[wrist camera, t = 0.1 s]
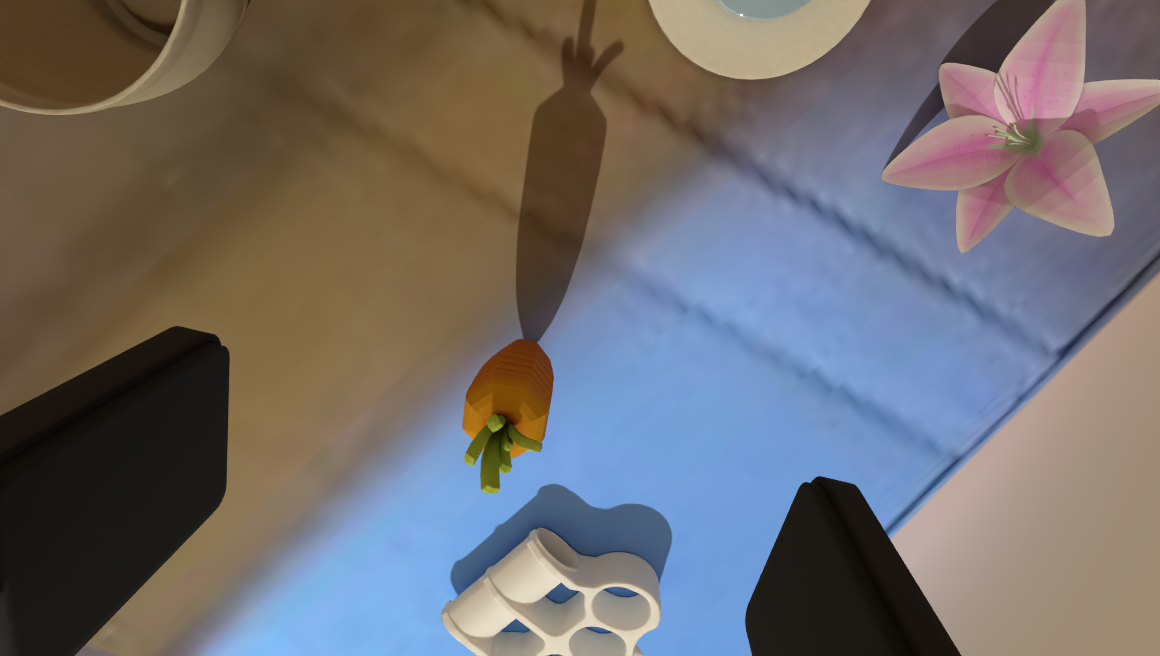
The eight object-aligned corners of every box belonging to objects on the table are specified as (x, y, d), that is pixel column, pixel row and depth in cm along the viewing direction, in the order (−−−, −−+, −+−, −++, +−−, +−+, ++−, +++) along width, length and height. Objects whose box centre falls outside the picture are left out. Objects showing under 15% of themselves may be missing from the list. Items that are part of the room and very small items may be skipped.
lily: (1040, -20, 34) (1051, -58, 27) (1207, 128, 32) (1270, 133, 25) (863, 144, 41) (832, 150, 34) (992, 273, 39) (989, 311, 32)
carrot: (517, 299, 42) (467, 401, 28) (578, 336, 42) (560, 455, 28) (482, 355, 43) (417, 478, 29) (541, 390, 44) (507, 526, 30)
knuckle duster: (566, 493, 47) (696, 601, 50) (423, 616, 52) (548, 707, 55) (563, 521, 44) (701, 635, 47) (410, 649, 49) (544, 743, 52)
